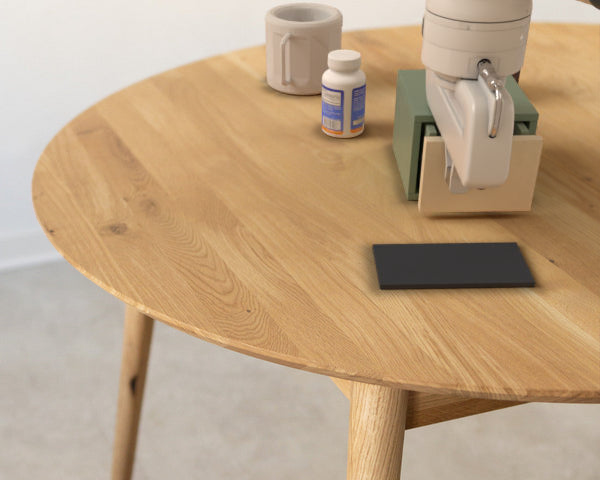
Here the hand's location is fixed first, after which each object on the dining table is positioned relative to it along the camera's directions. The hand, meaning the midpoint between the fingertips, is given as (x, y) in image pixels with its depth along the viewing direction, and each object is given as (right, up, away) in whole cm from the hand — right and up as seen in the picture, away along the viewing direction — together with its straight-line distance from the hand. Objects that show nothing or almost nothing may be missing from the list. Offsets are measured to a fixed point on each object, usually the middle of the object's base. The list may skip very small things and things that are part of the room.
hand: (455, 187), depth 75 cm
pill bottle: (-10, +10, +24) cm, 28 cm away
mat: (-1, -8, -2) cm, 8 cm away
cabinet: (+3, +4, +14) cm, 15 cm away
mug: (-15, +20, +37) cm, 44 cm away
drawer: (+3, +1, +9) cm, 10 cm away
